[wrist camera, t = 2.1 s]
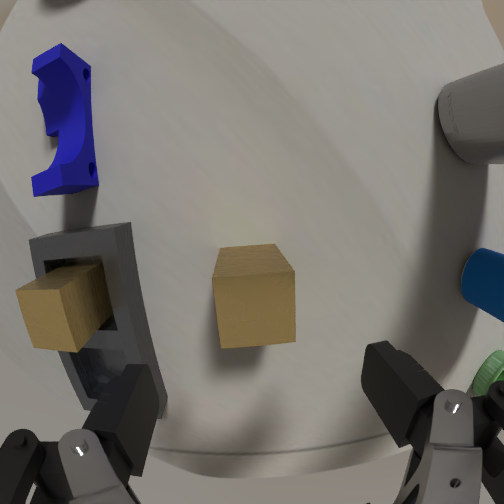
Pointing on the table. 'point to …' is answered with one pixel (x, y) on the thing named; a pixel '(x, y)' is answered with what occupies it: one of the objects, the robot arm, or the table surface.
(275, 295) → the wooden toy block
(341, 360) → the table surface
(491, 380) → the ramekin
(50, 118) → the cable clip
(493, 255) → the beverage can
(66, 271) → the beige cube
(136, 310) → the grey flat open box
